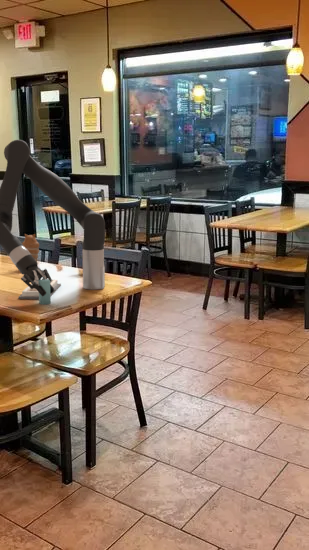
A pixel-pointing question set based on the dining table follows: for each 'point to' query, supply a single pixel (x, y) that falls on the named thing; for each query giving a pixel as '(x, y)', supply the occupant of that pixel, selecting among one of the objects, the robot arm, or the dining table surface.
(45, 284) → the teal peg
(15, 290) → the dining table surface
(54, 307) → the dining table surface
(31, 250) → the cat ice cream
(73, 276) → the dining table surface
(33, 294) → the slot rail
